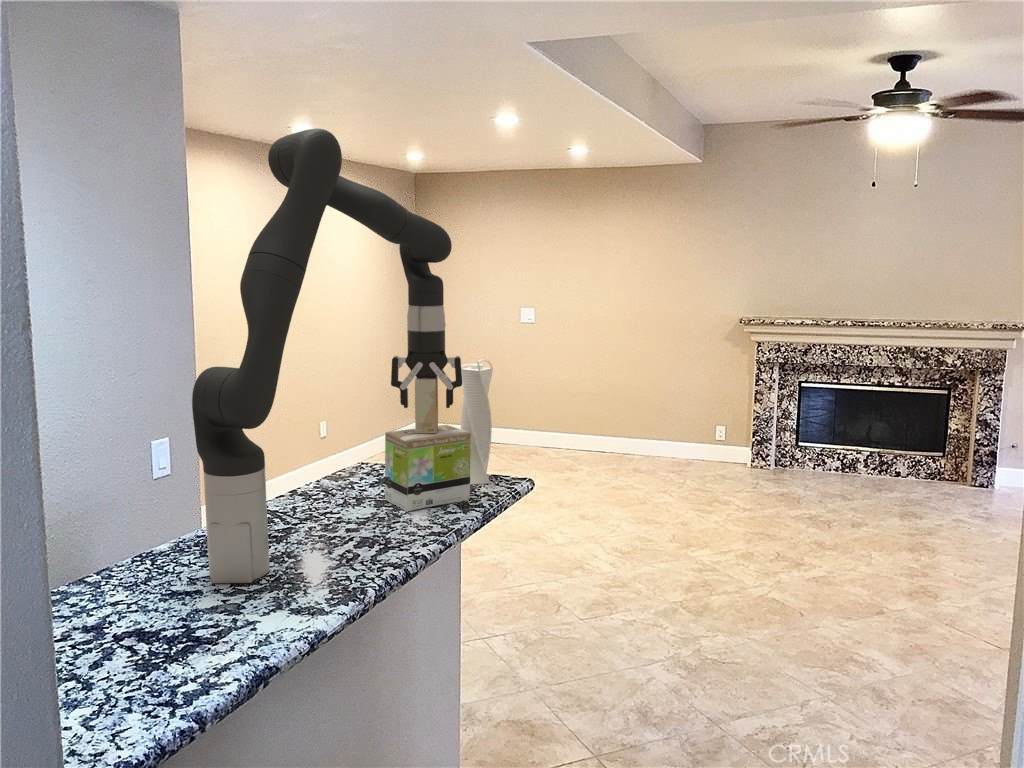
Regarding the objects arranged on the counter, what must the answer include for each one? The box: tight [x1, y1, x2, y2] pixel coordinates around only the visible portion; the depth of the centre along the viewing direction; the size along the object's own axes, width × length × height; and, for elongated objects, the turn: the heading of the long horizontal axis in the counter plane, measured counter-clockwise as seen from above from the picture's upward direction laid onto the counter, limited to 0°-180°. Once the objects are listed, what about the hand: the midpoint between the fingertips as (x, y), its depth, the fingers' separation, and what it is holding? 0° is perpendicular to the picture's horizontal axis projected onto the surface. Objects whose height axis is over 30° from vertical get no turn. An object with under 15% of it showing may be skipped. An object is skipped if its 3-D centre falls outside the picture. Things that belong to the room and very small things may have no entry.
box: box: [414, 376, 439, 433], centre depth 169 cm, size 5×4×11 cm
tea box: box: [384, 424, 471, 513], centre depth 171 cm, size 15×10×15 cm, turn 126°
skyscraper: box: [460, 358, 494, 486], centre depth 184 cm, size 8×8×28 cm
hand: (427, 407), depth 169 cm, fingers open, 8 cm apart
